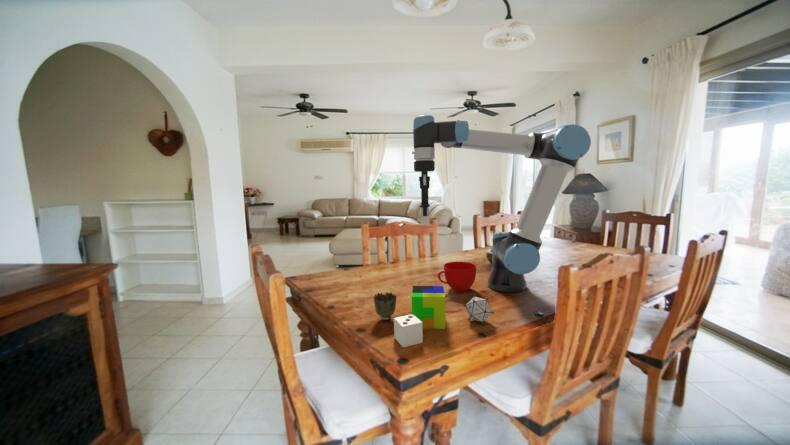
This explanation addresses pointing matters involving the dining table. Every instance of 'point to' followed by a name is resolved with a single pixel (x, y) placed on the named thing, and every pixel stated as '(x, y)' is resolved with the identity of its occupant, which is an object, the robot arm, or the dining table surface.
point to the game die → (478, 309)
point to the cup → (385, 305)
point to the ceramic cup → (459, 275)
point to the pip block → (408, 330)
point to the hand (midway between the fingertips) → (425, 224)
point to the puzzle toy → (429, 306)
